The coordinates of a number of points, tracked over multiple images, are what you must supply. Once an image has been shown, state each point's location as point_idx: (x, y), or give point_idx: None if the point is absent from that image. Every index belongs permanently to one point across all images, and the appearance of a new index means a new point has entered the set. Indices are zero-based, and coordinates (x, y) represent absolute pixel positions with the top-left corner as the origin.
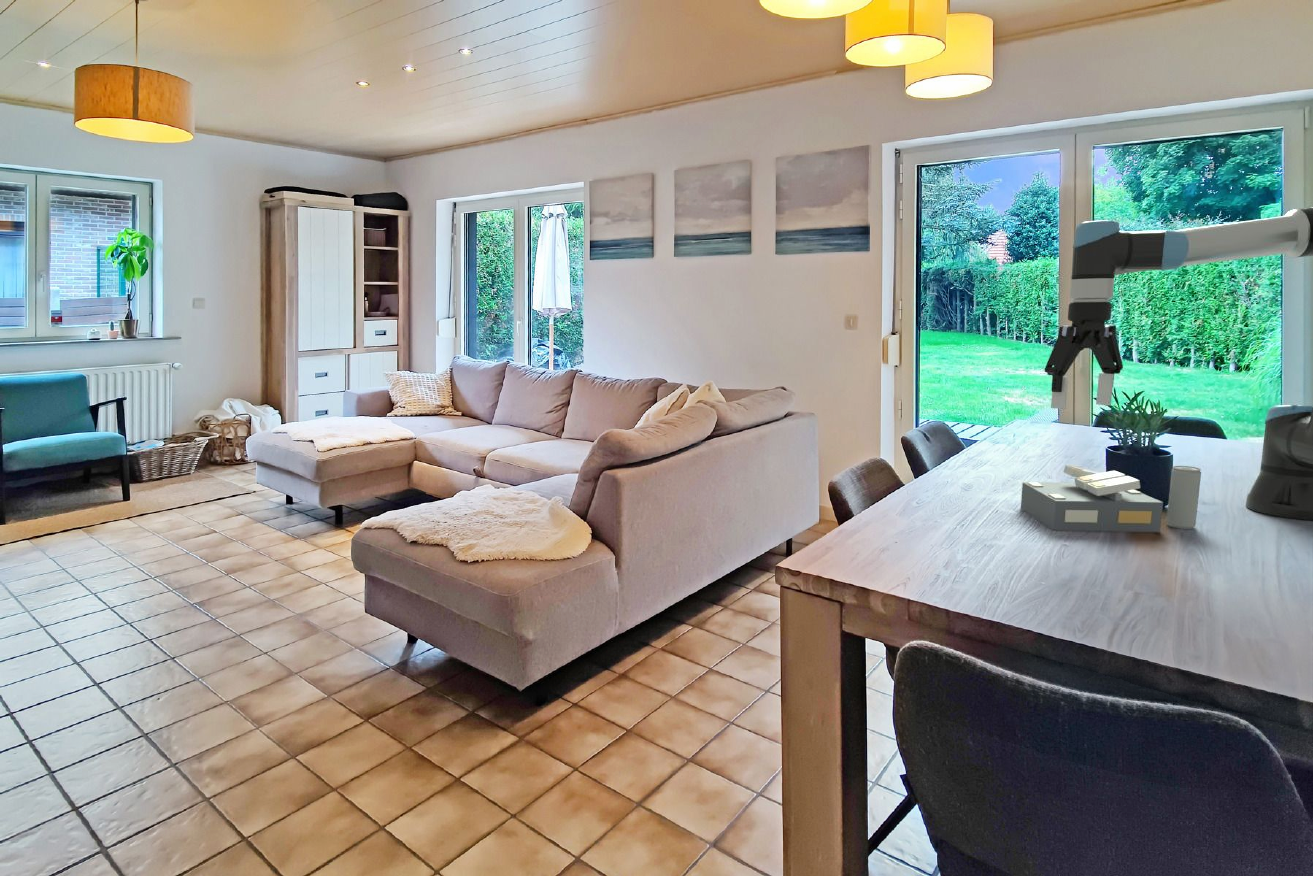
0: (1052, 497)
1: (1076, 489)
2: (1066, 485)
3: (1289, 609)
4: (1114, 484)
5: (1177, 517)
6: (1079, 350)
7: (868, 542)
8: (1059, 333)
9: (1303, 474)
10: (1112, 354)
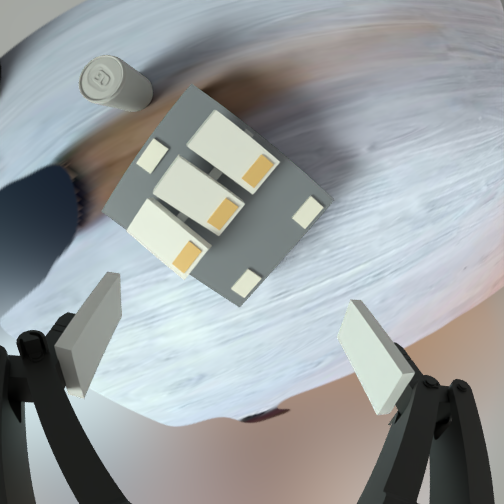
0: (315, 215)
1: None
2: None
3: None
4: (252, 141)
5: (149, 88)
6: (392, 490)
7: (474, 280)
8: None
9: None
10: (10, 437)
